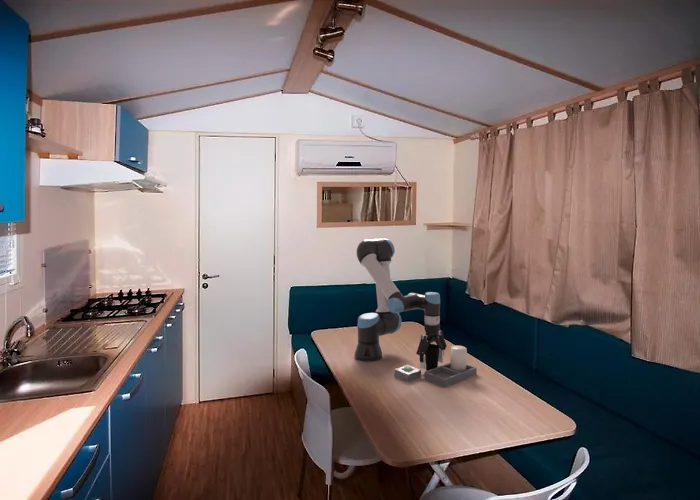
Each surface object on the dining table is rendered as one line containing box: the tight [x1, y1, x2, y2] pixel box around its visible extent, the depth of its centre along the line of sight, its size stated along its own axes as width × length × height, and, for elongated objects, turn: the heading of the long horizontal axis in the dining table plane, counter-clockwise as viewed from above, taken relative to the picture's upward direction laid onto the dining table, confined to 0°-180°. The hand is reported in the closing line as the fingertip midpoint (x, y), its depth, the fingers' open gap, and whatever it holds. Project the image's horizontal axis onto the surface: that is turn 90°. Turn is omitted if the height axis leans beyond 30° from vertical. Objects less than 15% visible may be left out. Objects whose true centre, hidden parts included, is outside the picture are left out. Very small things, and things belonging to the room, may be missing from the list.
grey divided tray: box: [423, 362, 478, 388], centre depth 200 cm, size 12×24×4 cm, turn 128°
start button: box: [404, 365, 413, 372], centre depth 200 cm, size 4×4×4 cm
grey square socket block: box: [394, 364, 422, 383], centre depth 200 cm, size 9×9×4 cm
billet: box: [449, 345, 468, 373], centre depth 203 cm, size 8×8×12 cm
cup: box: [425, 343, 440, 371], centre depth 209 cm, size 8×8×12 cm
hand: (431, 364), depth 209 cm, fingers open, 13 cm apart
